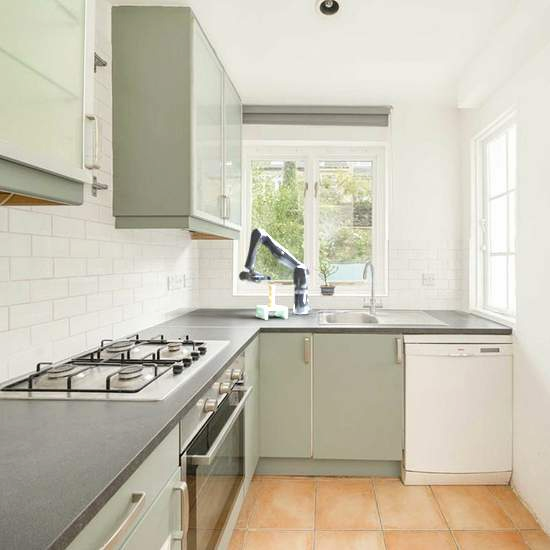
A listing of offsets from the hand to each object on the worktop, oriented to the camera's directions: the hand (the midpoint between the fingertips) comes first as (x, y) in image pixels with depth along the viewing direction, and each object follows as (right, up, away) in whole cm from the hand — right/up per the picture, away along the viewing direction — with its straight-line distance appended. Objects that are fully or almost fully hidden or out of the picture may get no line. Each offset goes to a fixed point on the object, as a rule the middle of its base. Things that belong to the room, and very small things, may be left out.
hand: (265, 278), depth 308 cm
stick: (+4, -18, -9) cm, 21 cm away
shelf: (+4, -25, -9) cm, 27 cm away
